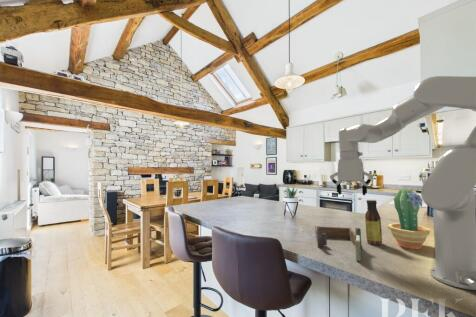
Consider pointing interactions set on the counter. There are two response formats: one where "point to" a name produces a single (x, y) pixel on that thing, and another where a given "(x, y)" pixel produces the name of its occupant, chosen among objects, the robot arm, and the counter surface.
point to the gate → (357, 247)
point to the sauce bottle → (373, 224)
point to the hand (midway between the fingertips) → (351, 194)
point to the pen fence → (335, 234)
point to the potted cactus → (408, 220)
